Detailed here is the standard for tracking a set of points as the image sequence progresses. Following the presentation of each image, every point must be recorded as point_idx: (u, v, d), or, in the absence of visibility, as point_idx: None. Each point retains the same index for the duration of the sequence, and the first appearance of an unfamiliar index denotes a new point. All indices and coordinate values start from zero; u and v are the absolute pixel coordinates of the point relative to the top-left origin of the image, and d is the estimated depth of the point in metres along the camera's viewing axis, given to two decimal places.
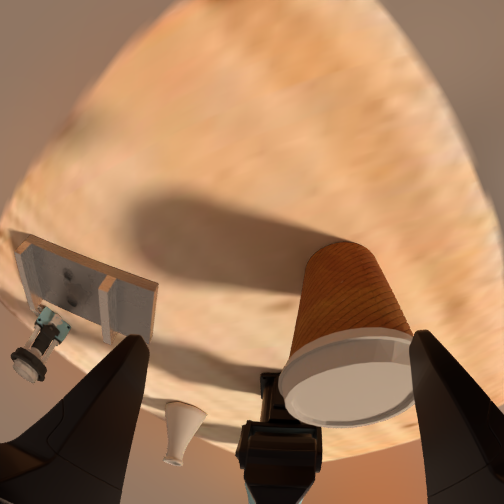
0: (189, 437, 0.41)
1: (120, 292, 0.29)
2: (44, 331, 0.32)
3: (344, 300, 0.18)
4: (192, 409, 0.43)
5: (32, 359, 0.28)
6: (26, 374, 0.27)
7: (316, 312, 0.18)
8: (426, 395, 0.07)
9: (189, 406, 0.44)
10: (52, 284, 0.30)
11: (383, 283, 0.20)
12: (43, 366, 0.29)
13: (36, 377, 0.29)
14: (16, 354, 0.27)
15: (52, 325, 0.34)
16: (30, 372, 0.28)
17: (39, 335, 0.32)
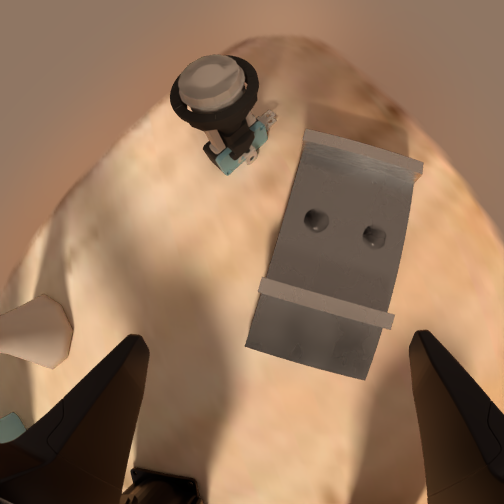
0: (18, 354, 0.20)
1: (357, 327, 0.20)
2: (249, 136, 0.21)
3: None
4: (63, 353, 0.24)
5: (242, 113, 0.16)
6: (214, 86, 0.15)
7: None
8: (426, 395, 0.07)
9: (67, 348, 0.24)
10: (345, 192, 0.22)
11: None
12: (213, 128, 0.17)
13: (196, 104, 0.16)
14: (257, 80, 0.16)
15: (247, 149, 0.23)
16: (219, 99, 0.15)
17: (246, 125, 0.21)
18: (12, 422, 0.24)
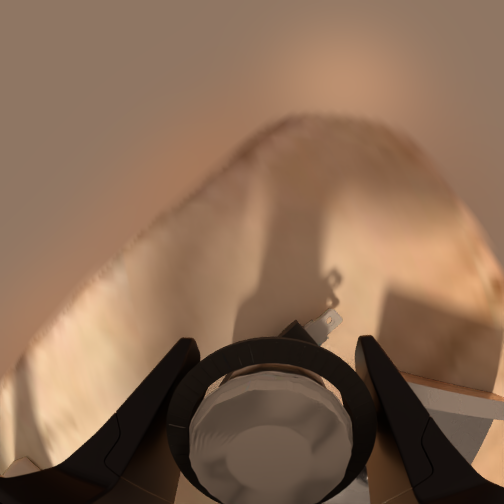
0: None
1: None
2: None
3: None
4: None
5: None
6: (287, 491, 0.05)
7: None
8: None
9: None
10: None
11: None
12: None
13: None
14: (374, 430, 0.06)
15: None
16: None
17: None
18: None
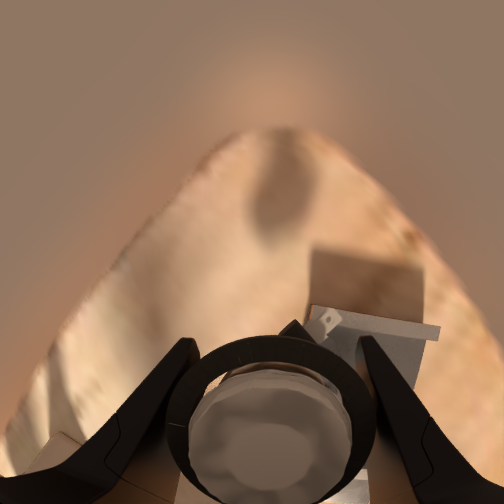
0: None
1: None
2: None
3: None
4: None
5: None
6: (286, 490, 0.05)
7: None
8: None
9: None
10: None
11: None
12: None
13: None
14: (373, 429, 0.06)
15: None
16: None
17: None
18: None
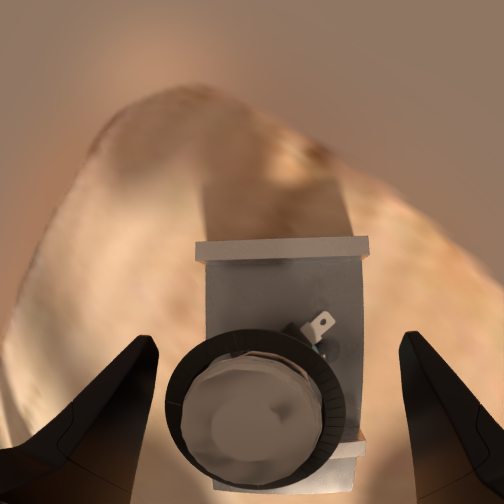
0: None
1: None
2: None
3: None
4: None
5: None
6: (261, 462, 0.07)
7: None
8: (415, 397, 0.07)
9: None
10: (272, 304, 0.17)
11: None
12: None
13: None
14: (344, 415, 0.08)
15: None
16: None
17: None
18: None
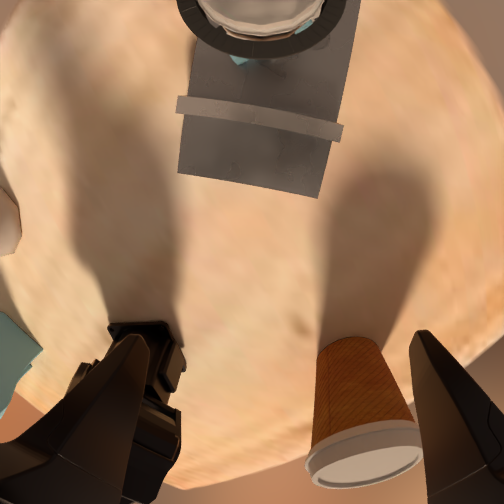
0: None
1: (302, 138, 0.18)
2: None
3: None
4: (16, 234, 0.22)
5: None
6: (268, 1, 0.06)
7: (399, 399, 0.20)
8: (426, 395, 0.07)
9: (18, 227, 0.22)
10: None
11: None
12: None
13: (224, 19, 0.07)
14: (344, 3, 0.07)
15: None
16: (270, 26, 0.07)
17: None
18: (1, 322, 0.28)
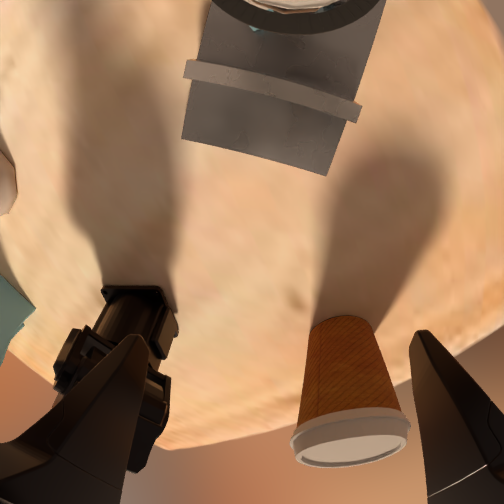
0: None
1: (316, 113, 0.16)
2: None
3: None
4: (12, 194, 0.21)
5: None
6: None
7: (388, 385, 0.21)
8: (426, 395, 0.07)
9: (14, 187, 0.21)
10: None
11: None
12: None
13: None
14: None
15: None
16: None
17: None
18: None
